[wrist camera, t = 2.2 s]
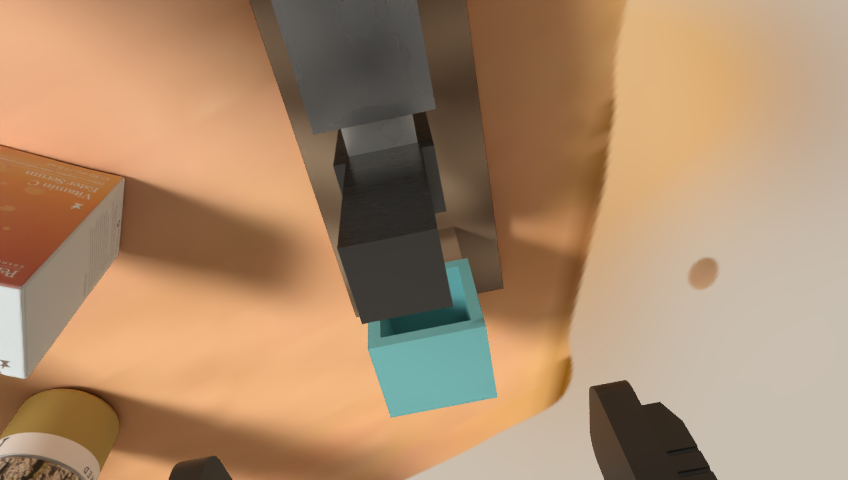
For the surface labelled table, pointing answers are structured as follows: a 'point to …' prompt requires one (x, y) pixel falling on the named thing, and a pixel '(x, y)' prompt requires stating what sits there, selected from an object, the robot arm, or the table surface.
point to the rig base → (450, 128)
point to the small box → (50, 249)
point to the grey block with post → (391, 218)
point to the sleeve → (356, 59)
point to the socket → (435, 352)
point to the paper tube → (58, 437)
